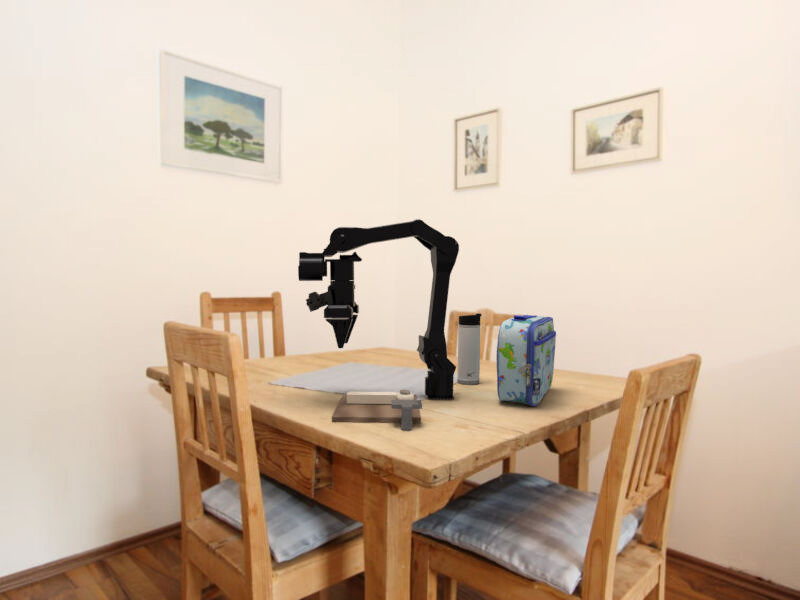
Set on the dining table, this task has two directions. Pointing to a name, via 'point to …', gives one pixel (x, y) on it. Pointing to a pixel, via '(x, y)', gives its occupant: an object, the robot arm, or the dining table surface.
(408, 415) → the metal keeper
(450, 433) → the dining table surface
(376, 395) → the cream link
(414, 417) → the walnut board
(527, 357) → the lunch box
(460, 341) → the travel mug
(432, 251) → the robot arm
